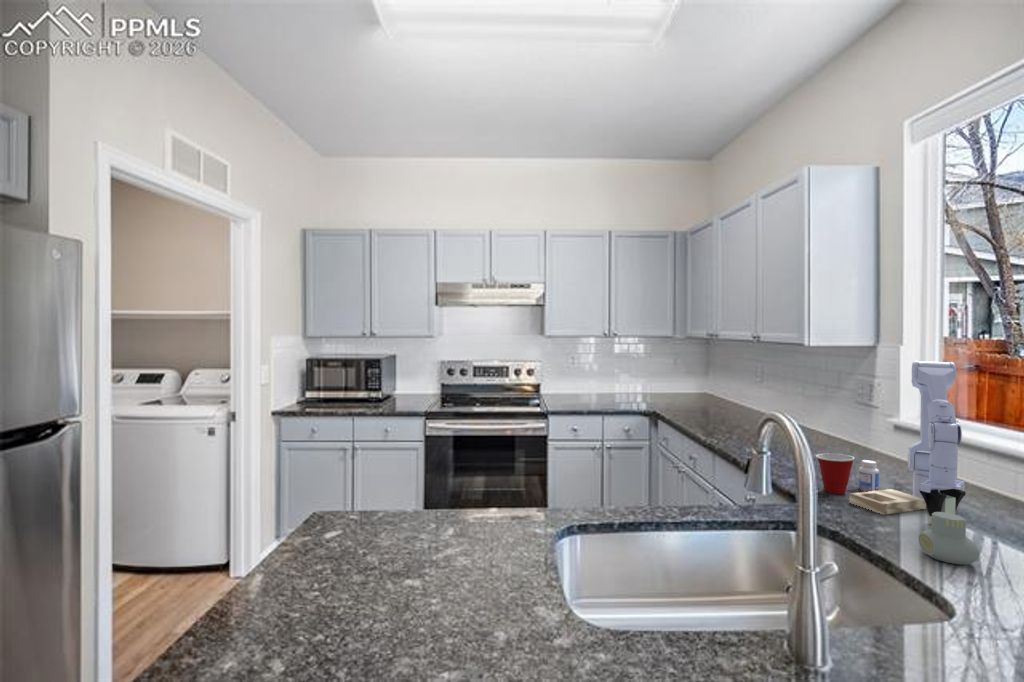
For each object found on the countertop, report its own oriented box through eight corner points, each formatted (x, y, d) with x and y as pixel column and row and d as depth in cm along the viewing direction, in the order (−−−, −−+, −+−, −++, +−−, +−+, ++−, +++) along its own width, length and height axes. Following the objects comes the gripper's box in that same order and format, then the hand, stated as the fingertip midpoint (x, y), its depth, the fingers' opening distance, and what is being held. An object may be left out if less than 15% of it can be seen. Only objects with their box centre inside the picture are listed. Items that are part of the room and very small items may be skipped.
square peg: (938, 521, 137) (938, 493, 137) (954, 527, 133) (955, 497, 133) (928, 523, 136) (929, 494, 136) (944, 528, 132) (945, 498, 132)
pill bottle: (872, 488, 167) (873, 459, 167) (882, 493, 162) (883, 463, 162) (854, 487, 168) (855, 459, 168) (864, 492, 162) (865, 463, 162)
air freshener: (984, 573, 107) (985, 527, 107) (938, 567, 109) (939, 522, 109) (955, 552, 117) (957, 510, 117) (914, 547, 120) (915, 506, 120)
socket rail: (891, 498, 157) (891, 489, 157) (926, 509, 147) (926, 499, 147) (849, 503, 151) (849, 493, 151) (882, 514, 142) (883, 504, 142)
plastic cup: (815, 484, 170) (816, 449, 170) (854, 491, 164) (855, 454, 164) (813, 492, 161) (814, 455, 161) (853, 499, 155) (854, 461, 155)
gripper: (941, 472, 129) (940, 524, 129) (978, 468, 133) (976, 518, 133) (912, 465, 135) (910, 514, 135) (948, 462, 140) (946, 509, 140)
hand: (941, 516), depth 135 cm, fingers open, 5 cm apart
